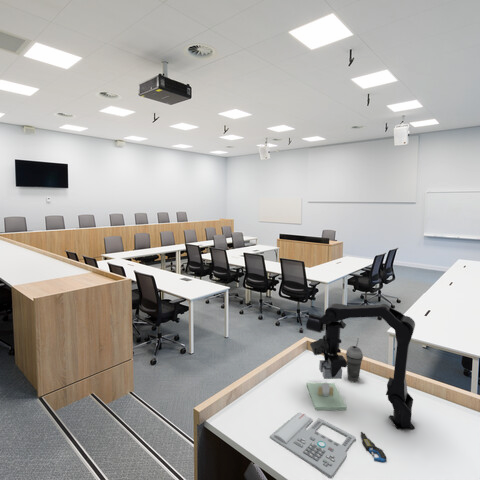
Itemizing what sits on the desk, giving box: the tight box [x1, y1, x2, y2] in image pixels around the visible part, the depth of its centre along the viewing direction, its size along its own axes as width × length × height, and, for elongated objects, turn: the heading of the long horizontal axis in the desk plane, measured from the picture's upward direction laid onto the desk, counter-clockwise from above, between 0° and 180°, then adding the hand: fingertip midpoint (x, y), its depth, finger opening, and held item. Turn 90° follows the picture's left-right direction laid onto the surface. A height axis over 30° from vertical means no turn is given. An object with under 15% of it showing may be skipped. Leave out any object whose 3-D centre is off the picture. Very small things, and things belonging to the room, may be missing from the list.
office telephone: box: [269, 412, 357, 479], centre depth 109 cm, size 23×3×20 cm
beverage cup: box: [345, 338, 364, 383], centre depth 143 cm, size 7×7×20 cm
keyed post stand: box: [306, 382, 347, 411], centre depth 131 cm, size 16×12×5 cm
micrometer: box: [360, 431, 388, 463], centre depth 106 cm, size 12×2×5 cm
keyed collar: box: [318, 359, 343, 380], centre depth 130 cm, size 7×7×4 cm
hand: (330, 371), depth 130 cm, fingers closed on keyed collar, 7 cm apart
